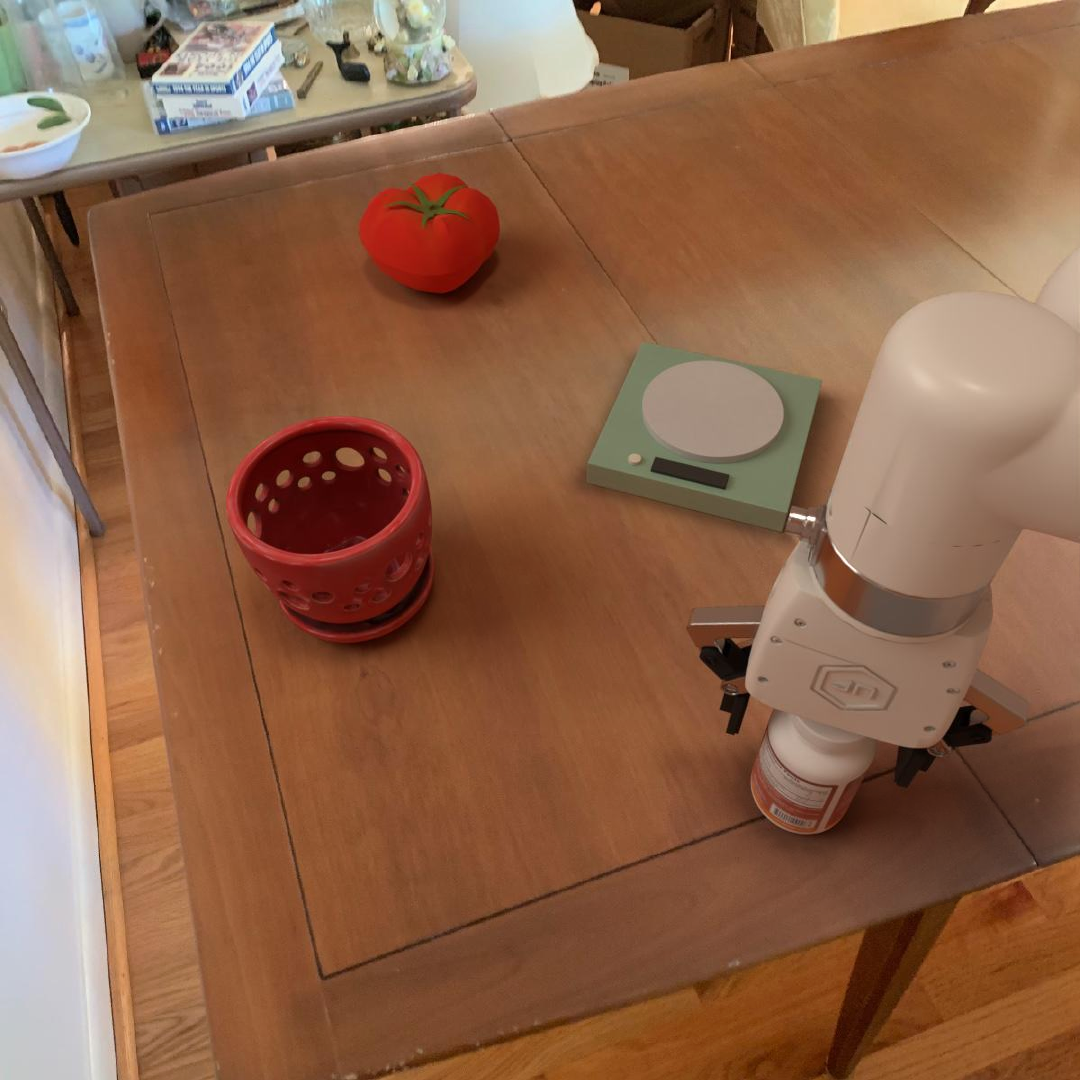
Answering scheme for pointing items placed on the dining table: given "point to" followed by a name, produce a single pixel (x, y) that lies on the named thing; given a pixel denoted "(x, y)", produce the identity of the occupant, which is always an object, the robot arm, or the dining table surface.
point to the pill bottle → (808, 772)
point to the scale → (707, 435)
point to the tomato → (430, 232)
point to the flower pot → (337, 527)
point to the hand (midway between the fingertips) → (818, 738)
